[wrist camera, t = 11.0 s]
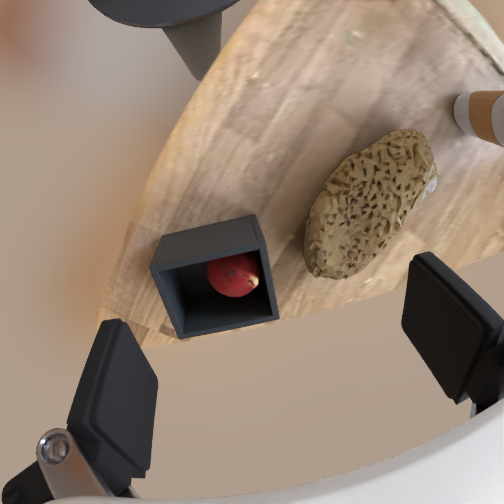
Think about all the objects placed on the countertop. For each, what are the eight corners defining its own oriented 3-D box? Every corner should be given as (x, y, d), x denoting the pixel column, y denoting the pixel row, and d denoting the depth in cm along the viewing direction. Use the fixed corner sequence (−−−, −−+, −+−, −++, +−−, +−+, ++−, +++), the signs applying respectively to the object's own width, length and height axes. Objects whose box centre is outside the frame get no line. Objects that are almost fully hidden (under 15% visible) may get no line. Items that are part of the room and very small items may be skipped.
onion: (187, 273, 35) (218, 297, 28) (211, 229, 35) (247, 242, 29) (225, 291, 38) (261, 316, 32) (247, 251, 39) (287, 267, 32)
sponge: (387, 115, 33) (262, 202, 32) (435, 125, 27) (299, 231, 26) (409, 194, 41) (308, 279, 40) (449, 214, 34) (342, 313, 33)
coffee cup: (457, 148, 34) (536, 175, 21) (439, 94, 31) (524, 103, 17) (488, 129, 33) (562, 150, 20) (473, 79, 30) (551, 85, 16)
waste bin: (184, 299, 40) (179, 339, 33) (162, 235, 36) (149, 267, 28) (268, 281, 40) (279, 319, 33) (255, 213, 36) (265, 241, 29)
